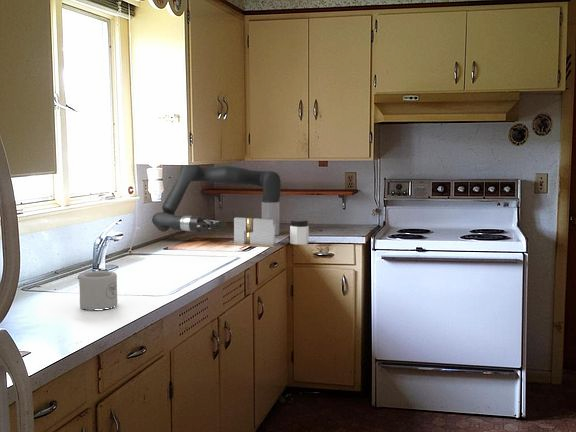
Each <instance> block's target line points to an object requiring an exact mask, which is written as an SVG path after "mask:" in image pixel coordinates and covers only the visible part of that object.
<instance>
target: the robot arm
mask: <svg viewBox="0 0 576 432" xmlns="http://www.w3.org/2000/svg"><path fill="white" fill-rule="evenodd" d="M191 182H210V183H216V184H217V183H218V184H225V185H233V186H234V185H235V186H243V185H244V186H247V185H251V186H252V185H253V186H258V187H262V195H261V219H275V236H278V235H280V198H281V187H282V186H281V183H282V181H281V177H280V175H279V174H278V173H277V172H275V171H272V170H251V169H250V170H249V169H247V168H242V167H240V166H239V167H238V166H231V165H220V166H215V167H204V166H200V164H199V165H182V164H181V166H180V169H179V175H178V177H177V179H176V181H175V183H174V184H173V186H172V188H171V190H170V191H169V193H168V194H167V196H166V198H165V200H164V202H163V204H162V206H161V209H162V212H160V211H159V212H156V213H154V214H153V216H152V217H153V218H152V217H151V221H152V224H153V225H154V226H155V228H156V229H157V230H158V231H160V232H161V233H163V232H167V231H169V230H170V228H171V229H172V230H174V231H185V232H191V233H192V232H194V233H200V232H203V230H211V229H217V230H218V229H220V227H224V228H225V227H227V226H228V225H227V224H228V223H227V221H221V220H216V219H215V220H214V219H204V217H203V216H200V215H175V214H176V211H177V210H178V208H179V206H180V204H181V201H182V200H183V198H184V195H185V194H186V191H187V188H188V187H189V185H190V183H191Z"/></svg>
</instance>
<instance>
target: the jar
mask: <svg viewBox="0 0 576 432" xmlns="http://www.w3.org/2000/svg"><path fill="white" fill-rule="evenodd" d="M289 228H290V229H289V244H291V245H308V244H309V239H310V238H309V233H310V232H309V231H310V229H309V228H310V227H309V220H308V219H300V218H299V219H298V218H297V219H291V220H290V226H289Z"/></svg>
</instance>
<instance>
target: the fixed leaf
mask: <svg viewBox="0 0 576 432" xmlns="http://www.w3.org/2000/svg"><path fill="white" fill-rule="evenodd" d="M275 243H276V235H275V219H262V218H258V217H257V218H256V217H255V218H252V231H250V232H248V231H246V244H253V245H269V246H274V245H275Z"/></svg>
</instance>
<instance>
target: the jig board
mask: <svg viewBox="0 0 576 432" xmlns="http://www.w3.org/2000/svg"><path fill="white" fill-rule="evenodd" d="M220 245H224V246H225V245H226V246H241V247H259V248H276V247H277V246H281V243H276V242H275V245H274V246H269V245H253V244H235V243H234V240H230V241H226V242H223V243H220Z"/></svg>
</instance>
